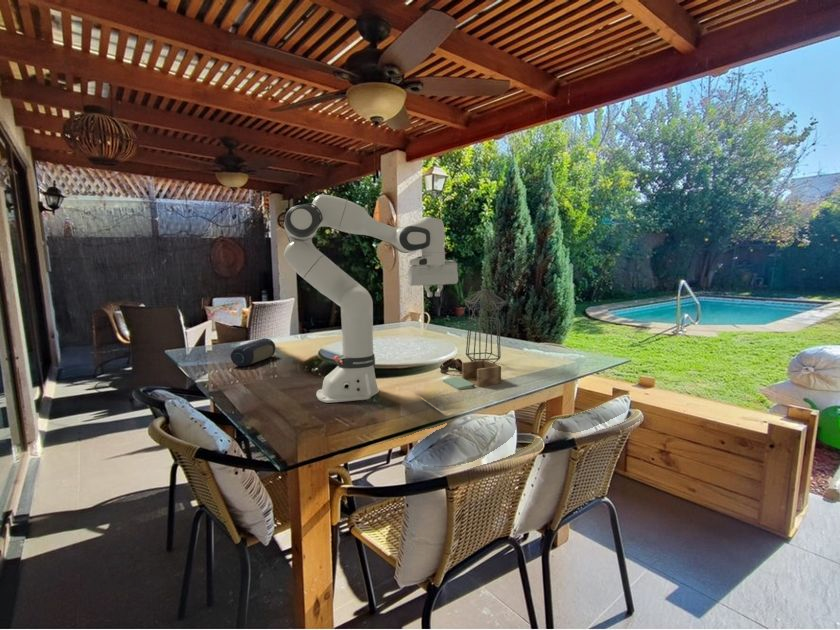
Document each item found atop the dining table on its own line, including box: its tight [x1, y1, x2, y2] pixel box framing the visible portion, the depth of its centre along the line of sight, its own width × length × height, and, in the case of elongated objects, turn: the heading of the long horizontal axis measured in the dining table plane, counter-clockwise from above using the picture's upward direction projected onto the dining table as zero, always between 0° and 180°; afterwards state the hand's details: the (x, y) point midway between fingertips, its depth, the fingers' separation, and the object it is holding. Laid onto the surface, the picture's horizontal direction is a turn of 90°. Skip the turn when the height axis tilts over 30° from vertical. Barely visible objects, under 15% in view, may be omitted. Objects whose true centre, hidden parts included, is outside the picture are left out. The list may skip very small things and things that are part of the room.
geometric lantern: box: [462, 288, 508, 364], centre depth 191 cm, size 16×16×35 cm
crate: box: [461, 360, 502, 388], centre depth 165 cm, size 10×12×8 cm
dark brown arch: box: [439, 357, 463, 375], centre depth 180 cm, size 12×10×8 cm
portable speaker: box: [230, 338, 276, 368], centre depth 207 cm, size 25×10×10 cm, turn 165°
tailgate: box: [442, 376, 476, 391], centre depth 161 cm, size 1×12×7 cm
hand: (433, 296), depth 164 cm, fingers closed
